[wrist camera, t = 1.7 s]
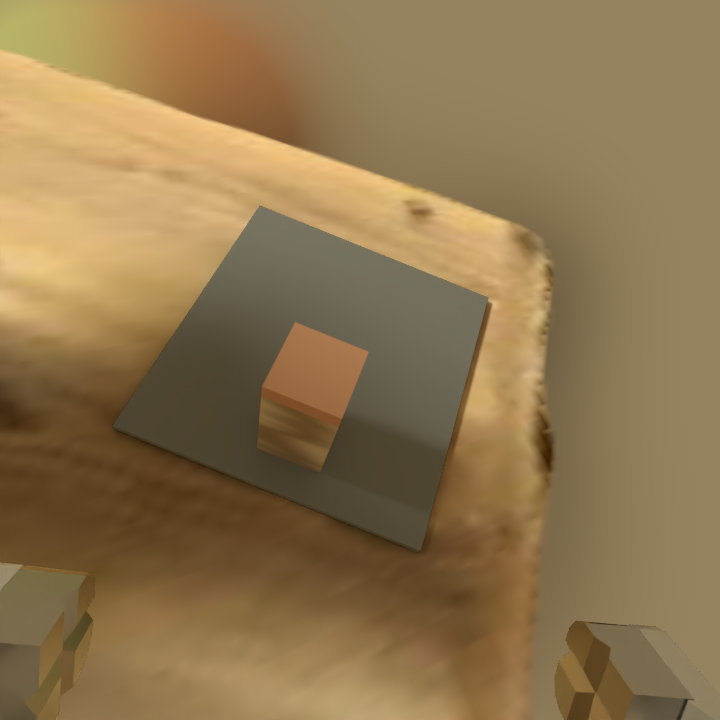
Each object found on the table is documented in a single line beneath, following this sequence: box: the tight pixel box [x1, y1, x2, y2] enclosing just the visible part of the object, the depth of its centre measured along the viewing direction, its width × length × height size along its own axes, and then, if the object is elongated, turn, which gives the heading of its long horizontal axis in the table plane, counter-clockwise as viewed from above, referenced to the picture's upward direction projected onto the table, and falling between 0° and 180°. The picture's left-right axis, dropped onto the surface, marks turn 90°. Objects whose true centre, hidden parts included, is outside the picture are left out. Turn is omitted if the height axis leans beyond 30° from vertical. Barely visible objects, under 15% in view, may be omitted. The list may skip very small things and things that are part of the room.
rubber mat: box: [113, 206, 488, 553], centre depth 36 cm, size 19×20×1 cm
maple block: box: [257, 322, 369, 473], centre depth 29 cm, size 4×4×8 cm
